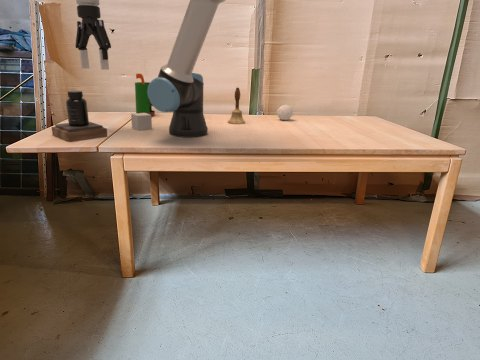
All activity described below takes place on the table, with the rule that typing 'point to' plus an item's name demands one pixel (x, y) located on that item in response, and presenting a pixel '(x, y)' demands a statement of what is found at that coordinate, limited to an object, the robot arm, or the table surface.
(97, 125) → the walnut plinth
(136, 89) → the green spray bottle
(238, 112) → the hand bell
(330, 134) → the table surface
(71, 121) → the supplement bottle
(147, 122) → the grey cube
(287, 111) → the whitish grey ball
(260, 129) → the table surface
